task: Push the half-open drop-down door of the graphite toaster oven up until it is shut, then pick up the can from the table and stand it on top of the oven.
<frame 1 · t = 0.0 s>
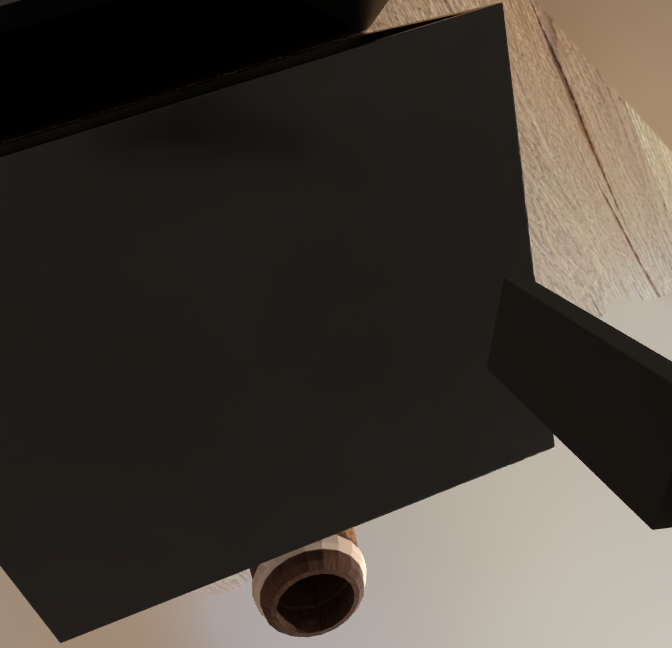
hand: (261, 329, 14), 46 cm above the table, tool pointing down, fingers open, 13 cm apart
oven: (225, 253, 60), on the table
oven door: (125, 12, 39), point 12 cm above the table, hinge at 13.1°
mug: (279, 500, 74), on the table
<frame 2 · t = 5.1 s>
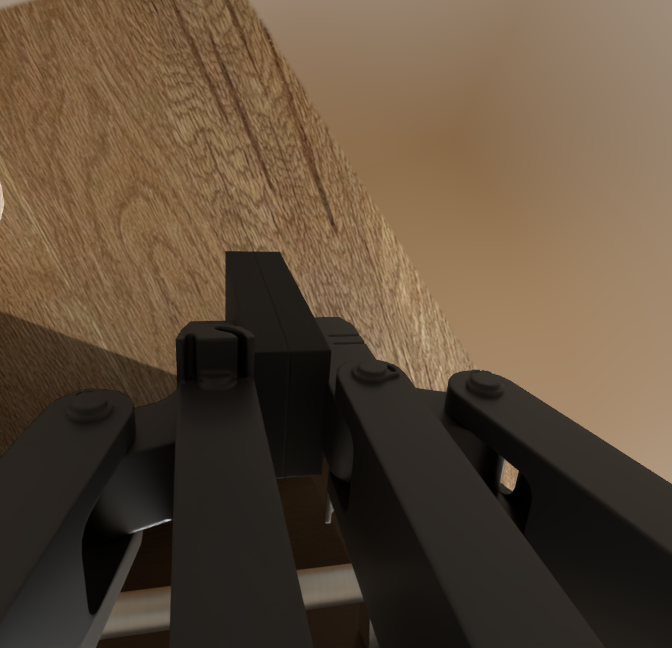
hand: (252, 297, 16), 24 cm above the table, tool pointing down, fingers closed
oven door: (81, 535, 32), point 12 cm above the table, hinge at 12.4°
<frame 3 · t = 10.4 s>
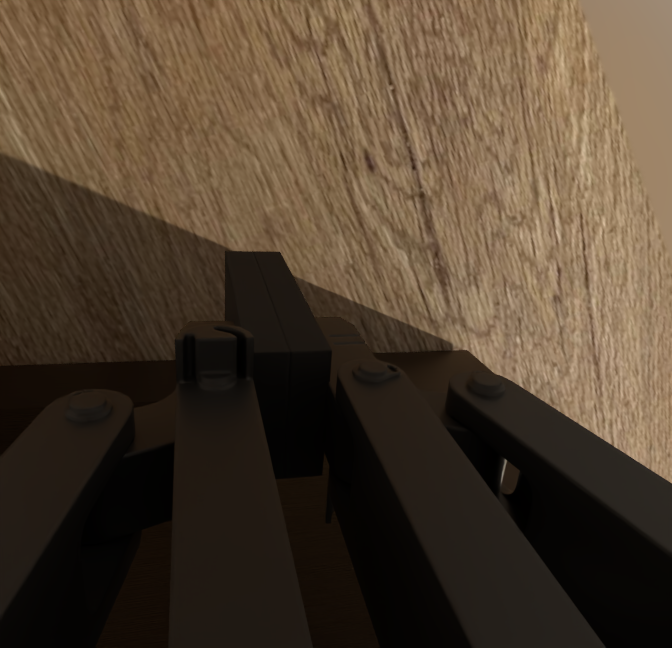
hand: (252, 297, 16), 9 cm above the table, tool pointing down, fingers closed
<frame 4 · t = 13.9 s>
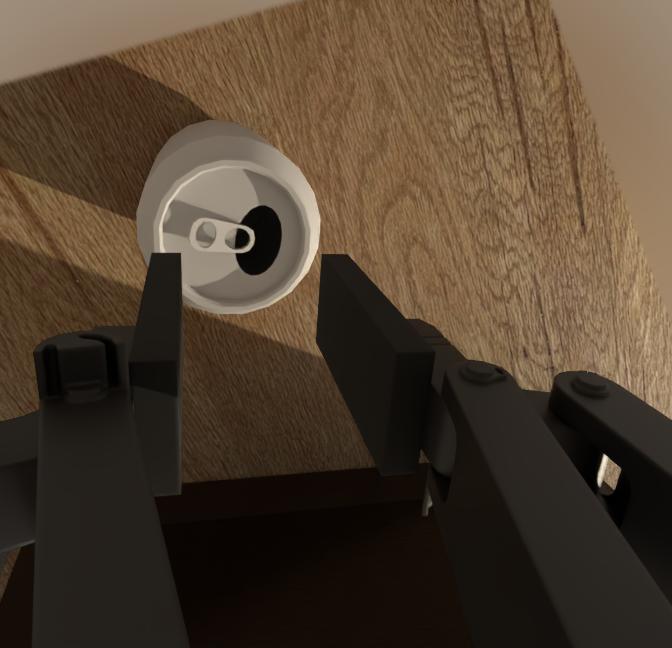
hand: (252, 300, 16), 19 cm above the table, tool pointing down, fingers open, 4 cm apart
oven door: (394, 592, 30), point 13 cm above the table, hinge at 2.6°
can: (219, 187, 33), on the table
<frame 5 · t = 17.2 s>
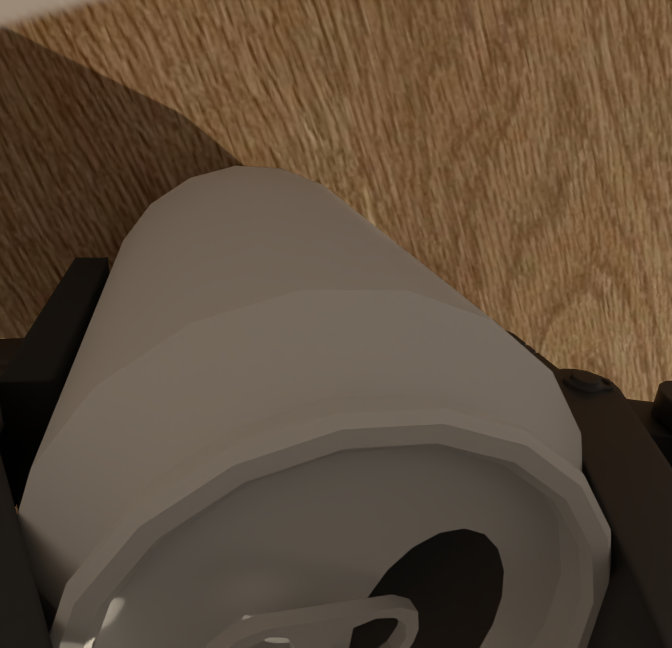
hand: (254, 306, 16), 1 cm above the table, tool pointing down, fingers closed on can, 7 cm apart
can: (250, 290, 17), on the table, touching gripper
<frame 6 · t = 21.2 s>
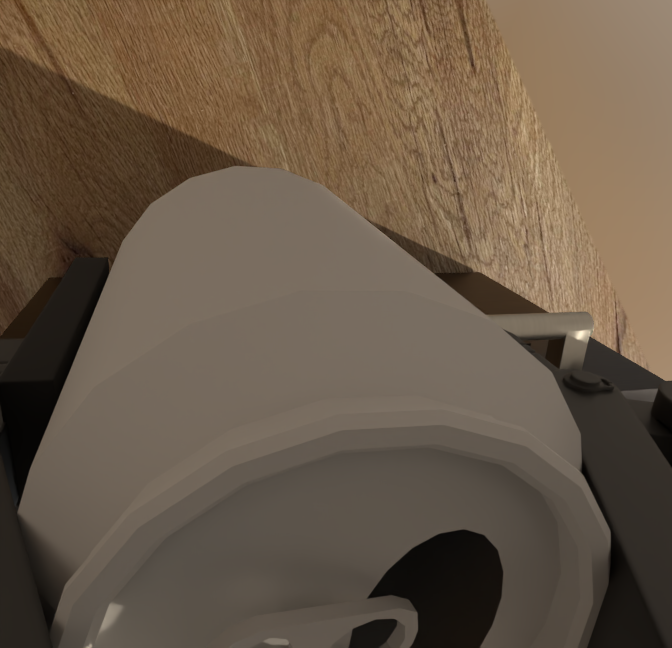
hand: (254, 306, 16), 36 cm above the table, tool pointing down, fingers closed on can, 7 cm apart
oven door: (309, 308, 41), point 13 cm above the table, hinge at 2.6°
can: (249, 291, 17), point 34 cm above the table, touching gripper
when the fingers open (27 cm above the table, at t = 25.2 s): can stays where it is, resting on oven.
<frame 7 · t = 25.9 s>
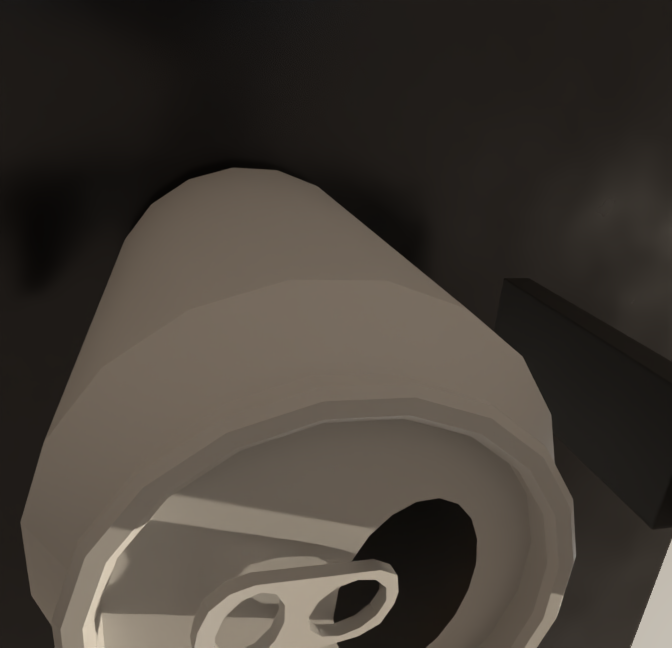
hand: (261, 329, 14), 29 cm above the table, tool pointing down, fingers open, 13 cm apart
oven: (213, 249, 43), on the table
can: (247, 288, 17), point 26 cm above the table, touching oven
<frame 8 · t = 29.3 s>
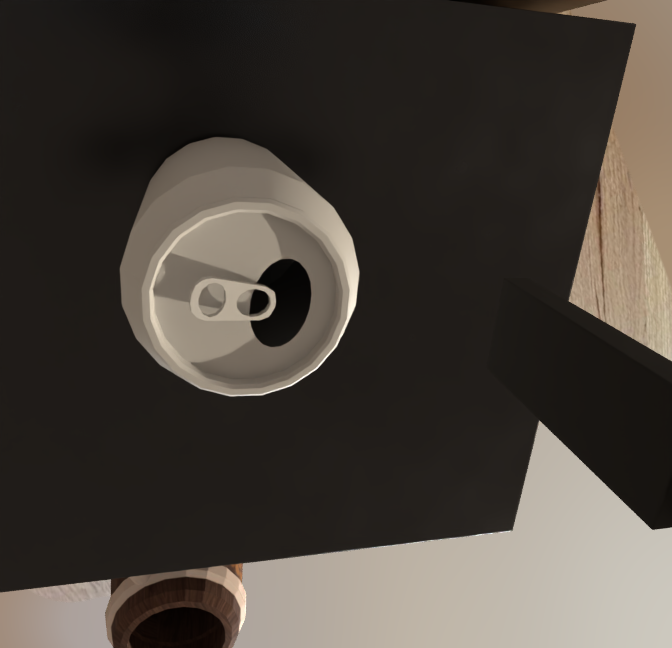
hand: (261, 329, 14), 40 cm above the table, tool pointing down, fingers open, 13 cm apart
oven: (209, 218, 53), on the table
can: (225, 216, 27), point 26 cm above the table, touching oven
mug: (169, 511, 64), on the table
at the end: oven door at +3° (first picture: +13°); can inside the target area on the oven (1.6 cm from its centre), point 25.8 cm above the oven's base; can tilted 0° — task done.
